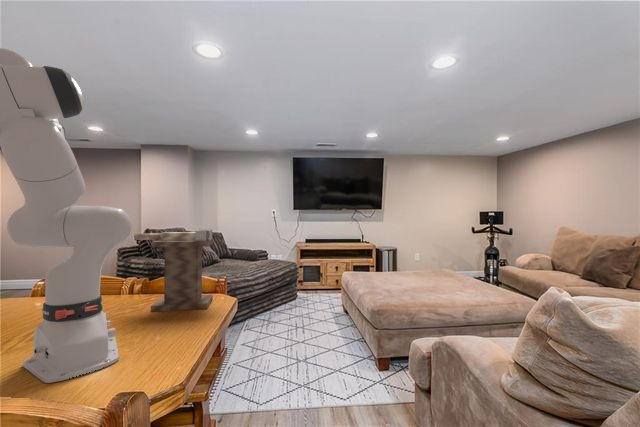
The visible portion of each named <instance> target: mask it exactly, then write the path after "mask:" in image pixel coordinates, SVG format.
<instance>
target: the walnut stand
mask: <svg viewBox="0 0 640 427" xmlns="http://www.w3.org/2000/svg"><path fill="white" fill-rule="evenodd" d="M213 243H214V238H212V239H211V240H209V241H195V240H192V241H161V240H152V241H151V243H150V244H151V245H150V246H151V248H164V273H163V274H164V278H163V279H164V281H163V282H164V283H163V284H164V285H163V286H164V289H163V290H164V291H163V292H164V296H161V297H160V298H158V299H157V301H155V302H154V303H153V304H151V305H150V312H165V311H166V312H167V311H182V310H183V311H185V310H187V311H188V310H205V308H207V309H208V308H209V306H210V305H211V303H212V301H213V300H212V299H213V298H214V296H213V294H205V295H204V294H203V293H202V292H203V291H202V290H203V247H206V248H207V247H209V246H211V245H213ZM202 294H203V295H202ZM211 300H212V301H211ZM210 302H211V303H210ZM209 304H210V305H209Z"/></svg>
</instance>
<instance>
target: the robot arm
mask: <svg viewBox="0 0 640 427" xmlns="http://www.w3.org/2000/svg"><path fill="white" fill-rule="evenodd" d="M83 100H84V98H83V93H82V90H81V88H80V86H79V85H78V83H77V81H76V80H75V79H74V78H72V76H71V74H70V73H69V72H67V71H65V70H64V69H63V68H58V67H53V66H49V65H48V66H47V65H44V66H34V65H33V64H32V63H31V62H30V61H29V60H28V59H27V58H26V57H24V56H22V55H21V54H20V53H18V52H15V51H13V50H10V49H7V48H1V47H0V151H1V152H2V155H3V157H4V160H5V162H6V165H7V167H8V169H9V171H10V172H11V174H12V175H13V177H14V180H15V181H16V182H17V185H18V186H19V188H20V191H21V193H22V194H23V195H22V196H23V198H24V204H23V206H22V207H20V208H18V209H16V210H15V211H14V212H13V213H12V214H11V215H10V217H9V218H8V221H7V225H6V230H7V234H8V235H9V238H10V240H12V241H13V242H14V243H16V244H17V245H20V246H26V247H31V248H33V247H34V248H40V249H42V248H45V249H46V248H73V250H72V254H71V256H70V258H68V259H66V260H62V261H61V262H59V263H57V264H56V265H54V266H52V267H51V268H50V269H49V270H48V271H47V272H46V275H45V283H44V284H45V285H44V286H45V292H44V295H45V297H44V298H45V300H44V302H43V304H42V309H41V310H42V319H43V320H42V321H41V323H40V324H38V325H37V326H36V327H35V328H34V331H33V332H34V333H33V349H32V350H33V351H32V356H31V357H28V358H26V359H24V361H22V367H23V368H24V369H26V370H27V371H29V373H31V374H33V376H35V377H37V379H38V380H41V381H42V383H43V382H44V383H45V384H50V383H56V382H61V381H65V380H69V378H70V379H73V378H72V377H74V378H76V376H77V377H80V376H79V375H81V376H83V375H82V374H84V375H86V373H87V374H89V372H90V373H93V372H95V370H96V371H98V370H101V369H103V367H104V368H106V367H108V366H110V365H114V364H115V363H116V362H118V361H119V360H120V355H119V350H118V344H117V339H116V328H115V327H112V328H108V327H110V326H111V324H112V322H111V320H107V313H106V312H104V311H103V309H104V308H103V303H104V302H103V298H102V295H101V277H102V268H103V266H104V263H105V261H106V259H107V258H108V256H109V255H110V253H111V252H112V251H113V250H114V249H116V247H118V246H119V245H121V244H122V243H124V242H125V241H126V239H128V237H129V236H130V233H131V232H132V227H133V226H132V220H131V217H130V216H129V214H128V213H127V212H126V210H125V209H122V208H117V207H113V206H105V205H75V204H76V203H77V202H79V201H80V200H81V199H82V198H83V197H84V195H85V193H86V183H85V180H84V177H83V175H82V172H81V169H80V167H79V165H78V162H77V159H76V157H75V154H74V153H73V150H72V148H71V147H70V146H71V145H69V143H68V140H67V138H66V130H65V127H64V126H62V125H61V124H60V123H59V122H60V121H59V119H61V118H64V119H70V118H72V117H77V116H78V115H80V114H81V112H82V111H83V105H84V104H83V102H84V101H83Z"/></svg>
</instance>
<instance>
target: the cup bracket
mask: <svg viewBox="0 0 640 427" xmlns="http://www.w3.org/2000/svg"><path fill="white" fill-rule="evenodd" d="M194 232H195V241H209V240H211V239H213V229H198V230H197V229H196V230H195V231H194Z"/></svg>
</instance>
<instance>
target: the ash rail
mask: <svg viewBox="0 0 640 427" xmlns="http://www.w3.org/2000/svg"><path fill="white" fill-rule="evenodd" d="M133 237H134V240H135V241H143V240H144V241H147V240H148V241H151V240H152V241H156V240H161V241H192V240H195V231H194V232H193V231H191V232H189V231H188V232H187V231H185V232H184V231H183V232H182V231H181V232H175V231H171V232H170V231H169V232H166V231H165V232H159V233H158V232H154V233H151V232H150V233H149V232H148V233H139V232H138V233H135V234H134V236H133Z"/></svg>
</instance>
